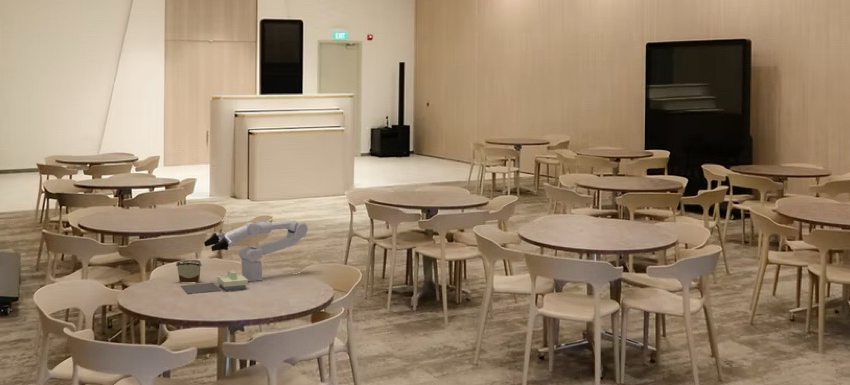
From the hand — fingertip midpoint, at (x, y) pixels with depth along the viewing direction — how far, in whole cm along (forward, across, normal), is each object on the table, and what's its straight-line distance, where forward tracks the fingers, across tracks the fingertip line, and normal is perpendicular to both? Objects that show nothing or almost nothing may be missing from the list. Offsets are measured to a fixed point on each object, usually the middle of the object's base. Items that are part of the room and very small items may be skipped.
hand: (208, 246), depth 435 cm
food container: (+9, -11, +19) cm, 23 cm away
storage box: (-2, +14, +18) cm, 22 cm away
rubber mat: (+11, +7, +15) cm, 20 cm away
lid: (-2, +13, +15) cm, 21 cm away
